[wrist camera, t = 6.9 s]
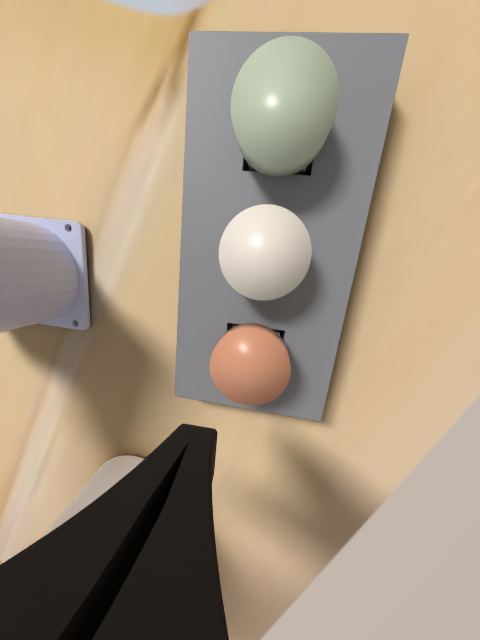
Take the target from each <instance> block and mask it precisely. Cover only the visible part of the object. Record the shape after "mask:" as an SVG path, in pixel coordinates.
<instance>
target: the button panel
mask: <svg viewBox="0 0 480 640" xmlns="http://www.w3.org/2000/svg"><path fill="white" fill-rule="evenodd" d="M283 36H300V37H304V38H307V39H309V40H311V41H313V42H315V43H316V44H318V45H319V46H320V47H321V48H322V49H323V50H325V52H326V53H327V54H328V56H329V57H330V58H331V60H332V62H333V64H334V66H335V69H336V72H337V76H338V80H339V88H340V97H339V106H338V110H337V114H336V117H335V120H334V123H333V125H332V127H331V130H330V132H329V134H328V136H327V139H326V141H325V143H324V145H323V147H322V149H321V150H320V152H319V154H318V155H317V156H316V157H315V159H314V160H313V161H312V162H311V163H310V164H309V165H308V170H307V176H306V175H293V174H291V175H288V176H282V177H274V176H268V175H265V174H262V173H260V172H251V171H248V169H249V166H248V162H247V161H246V160H245V158H244V157H243V155H242V153H241V151H240V149H239V146H238V143H237V139H236V135H235V132H234V128H233V124H232V119H231V110H230V109H231V96H232V90H233V86H234V83H235V80H236V78H237V75H238V73H239V71H240V69H241V68H242V66H243V65H244V63H245V62H246V60H247V59H248V58H249V57H250V55H251V54H252V53H253V52H254V51H255V50H257V49H258V48H259V47H261V46H262V45H263V44H265V43H267V42H269V41H271V40H273V39H276V38H279V37H283ZM408 36H409V34H403V33H318V32H233V31H190V32H189V57H188V81H187V106H186V130H185V154H184V179H183V203H182V228H181V252H180V277H179V301H178V326H177V350H176V375H175V396H177V397H183V398H188V399H194V400H200V401H205V402H211V403H217V404H223V405H228V406H234V407H240V408H245V409H251V410H257V411H263V412H268V413H274V414H280V415H285V416H291V417H297V418H303V419H308V420H314V421H320V422H321V419H322V414H323V410H324V406H325V401H326V397H327V392H328V388H329V384H330V379H331V375H332V370H333V366H334V362H335V357H336V353H337V348H338V344H339V340H340V335H341V331H342V326H343V322H344V318H345V313H346V309H347V304H348V300H349V296H350V291H351V287H352V282H353V278H354V274H355V269H356V265H357V260H358V256H359V252H360V247H361V243H362V238H363V234H364V230H365V225H366V221H367V216H368V212H369V208H370V203H371V199H372V194H373V190H374V186H375V181H376V177H377V172H378V168H379V164H380V159H381V155H382V150H383V146H384V142H385V137H386V133H387V128H388V124H389V120H390V115H391V111H392V106H393V102H394V98H395V93H396V89H397V84H398V80H399V76H400V71H401V67H402V62H403V58H404V54H405V49H406V45H407V40H408ZM262 204H271V205H277V206H280V207H283V208H285V209H288V210H289V211H291V212H292V213H294V214H295V215H296V216H297V217H298V218H299V219H300V220H301V221H302V222H303V224H304V225H305V227H306V229H307V231H308V233H309V236H310V240H311V246H312V256H311V262H310V266H309V269H308V271H307V273H306V275H305V277H304V279H303V280H302V281H301V283H300V284H299V285H298V286H297V287H296V288H295V289H294V290H293V291H291V292H290V293H288V294H287V295H285V296H283V297H280V298H277V299H273V300H266V301H262V300H254V299H251V298H248V297H245V296H243V295H241V294H240V293H238V292H237V291H236V290H235V289H233V288H232V287H231V286H230V284H229V283H228V282H227V280H226V279H225V277H224V275H223V273H222V270H221V267H220V263H219V245H220V241H221V237H222V235H223V232H224V230H225V229H226V227H227V225H228V224H229V223H230V221H231V220H232V219H233V218H234V217H235V216H236V215H238V214H239V213H240V212H242V211H244V210H245V209H247V208H250V207H253V206H256V205H262ZM233 323H234V324H245V323H256V324H261V325H264V326H267V327H269V328H271V329H277V330H282V333H281V338H282V339H283V341H284V343H285V345H286V347H287V350H288V355H289V360H290V365H291V374H290V379H289V382H288V385H287V386H286V388H285V390H284V391H283V392H282V393H281V394H280V395H279V396H278V397H277V398H276V399H274V400H272V401H270V402H268V403H265V404H262V405H255V406H249V405H243V404H239V403H236V402H234V401H232V400H230V399H228V398H227V397H225V396H224V395H223V394H222V393H221V392H220V391H219V390H218V389H217V387H216V386H215V384H214V382H213V380H212V378H211V374H210V358H211V355H212V352H213V350H214V348H215V347H216V345H217V344H218V342H219V341H220V339H221V338H222V336H223V335H224V334H225V333H226V332H227V331H228V330H230V329H231V328H232V324H233Z"/></svg>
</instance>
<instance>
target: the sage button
mask: <svg viewBox="0 0 480 640" xmlns="http://www.w3.org/2000/svg"><path fill="white" fill-rule="evenodd" d="M339 97H340V88H339V80H338V76H337V72H336V69H335V66H334V64H333V62H332V60H331V58H330V57H329V56H328V54H327V53H326V52H325V50H323V49H322V48H321V47H320V46H319V45H318V44H316V43H315V42H313V41H311V40H309V39H307V38H304V37H300V36H283V37H279V38H276V39H273V40H271V41H269V42H267V43H265V44H263V45H262V46H261V47H259V48H258V49H257V50H255V51H254V52H253V53H252V54H251V55H250V57H249V58H248V59H247V60H246V62H245V63H244V65H243V66H242V68H241V69H240V71H239V73H238V75H237V78H236V80H235V83H234V86H233V90H232V96H231V109H230V110H231V119H232V124H233V128H234V132H235V135H236V139H237V143H238V146H239V149H240V151H241V153H242V155H243V157H244V158H245V160H246V161H247V162H248V166H249V170H250V171H251V172H260V173H262V174H265V175H268V176H274V177H282V176H288V175H291V174H293V175H304V173H305V170H306V168H307V165H309V164H310V163H311V162H312V161H313V160H314V159H315V157H316V156H317V155H318V154H319V152H320V150H321V149H322V147H323V145H324V143H325V141H326V139H327V136H328V134H329V132H330V130H331V127H332V125H333V123H334V120H335V117H336V114H337V110H338V106H339Z"/></svg>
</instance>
